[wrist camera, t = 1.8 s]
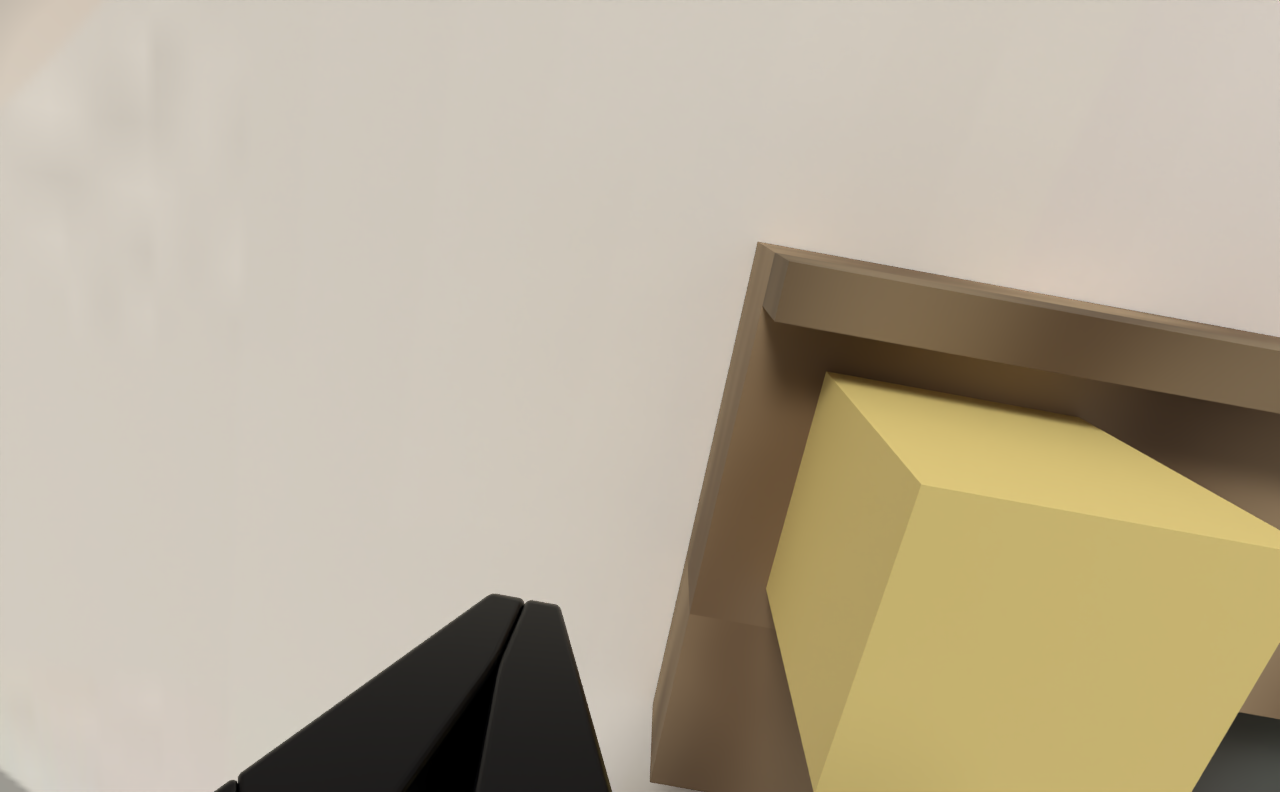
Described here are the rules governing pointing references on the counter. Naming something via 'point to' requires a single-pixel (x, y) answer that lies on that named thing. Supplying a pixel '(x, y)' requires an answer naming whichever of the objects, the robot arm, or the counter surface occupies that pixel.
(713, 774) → the deck
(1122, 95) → the counter surface
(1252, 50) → the counter surface
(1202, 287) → the counter surface
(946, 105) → the counter surface
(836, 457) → the block
